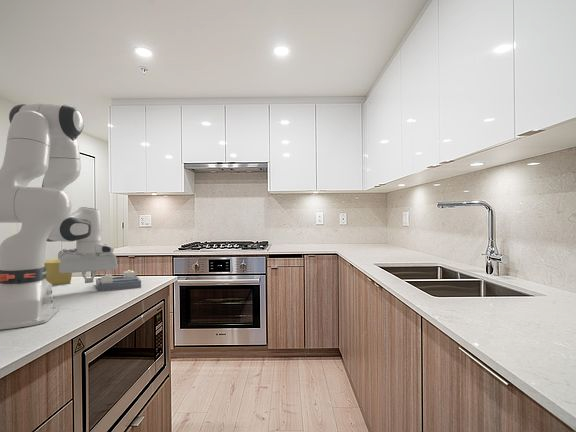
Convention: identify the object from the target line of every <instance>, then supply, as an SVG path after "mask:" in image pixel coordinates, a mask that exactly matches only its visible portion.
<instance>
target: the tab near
mask: <svg viewBox="0 0 576 432" xmlns="http://www.w3.org/2000/svg"><path fill="white" fill-rule="evenodd" d="M113 277H114V276H113V275H108V273H106V274H105V275H101V276H100V278H101V284H104V283H113Z"/></svg>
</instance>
